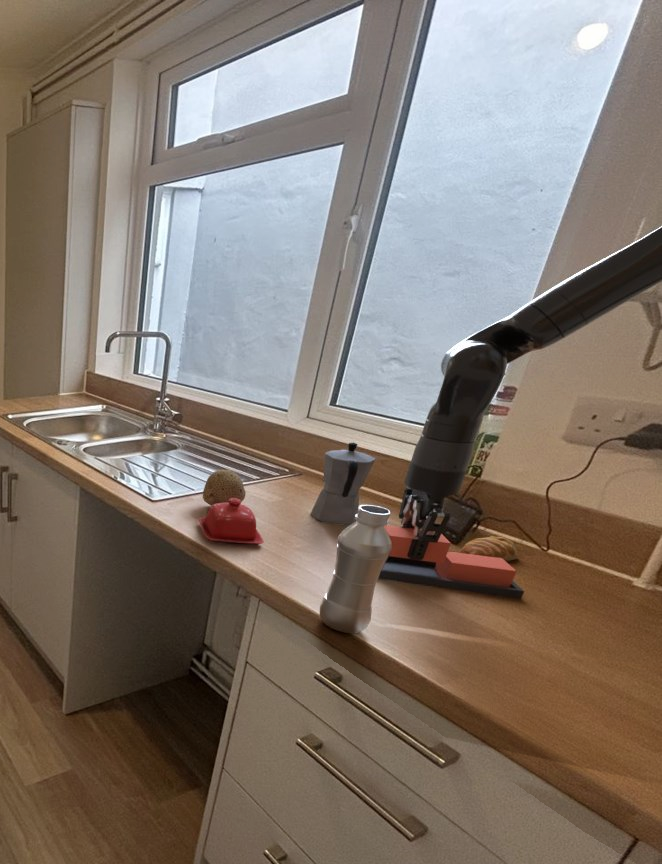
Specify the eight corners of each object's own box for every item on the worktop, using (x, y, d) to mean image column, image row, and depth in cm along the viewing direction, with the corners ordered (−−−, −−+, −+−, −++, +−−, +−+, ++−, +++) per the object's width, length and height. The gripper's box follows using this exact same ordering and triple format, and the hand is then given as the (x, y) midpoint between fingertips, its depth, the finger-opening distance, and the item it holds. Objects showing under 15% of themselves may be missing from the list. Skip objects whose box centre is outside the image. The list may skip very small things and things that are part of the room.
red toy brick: (432, 551, 97) (439, 531, 95) (443, 563, 93) (451, 543, 91) (375, 543, 100) (381, 524, 98) (383, 555, 96) (389, 535, 94)
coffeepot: (308, 505, 129) (326, 433, 122) (354, 511, 125) (374, 438, 118) (311, 528, 116) (331, 450, 109) (362, 536, 112) (386, 456, 105)
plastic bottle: (371, 642, 79) (411, 521, 71) (320, 633, 81) (353, 514, 73) (360, 619, 84) (395, 504, 77) (312, 611, 87) (342, 498, 79)
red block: (494, 577, 95) (502, 558, 93) (508, 591, 91) (517, 571, 89) (433, 569, 98) (440, 550, 96) (444, 582, 94) (452, 562, 92)
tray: (492, 575, 97) (496, 565, 96) (519, 602, 89) (524, 591, 88) (356, 556, 104) (358, 547, 103) (369, 580, 96) (372, 569, 95)
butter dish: (265, 549, 107) (273, 510, 104) (205, 545, 109) (212, 507, 106) (249, 526, 118) (256, 490, 115) (195, 522, 120) (201, 487, 117)
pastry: (486, 569, 99) (493, 551, 97) (447, 554, 105) (453, 536, 103) (519, 561, 102) (526, 543, 100) (479, 546, 108) (485, 529, 106)
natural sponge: (249, 510, 126) (256, 471, 122) (229, 520, 121) (236, 479, 117) (214, 499, 133) (220, 462, 129) (193, 508, 128) (199, 469, 124)
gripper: (486, 478, 82) (450, 573, 89) (448, 453, 95) (419, 538, 101) (428, 473, 85) (397, 566, 91) (399, 450, 97) (373, 533, 103)
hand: (409, 551), depth 96 cm, fingers closed on red toy brick, 5 cm apart
